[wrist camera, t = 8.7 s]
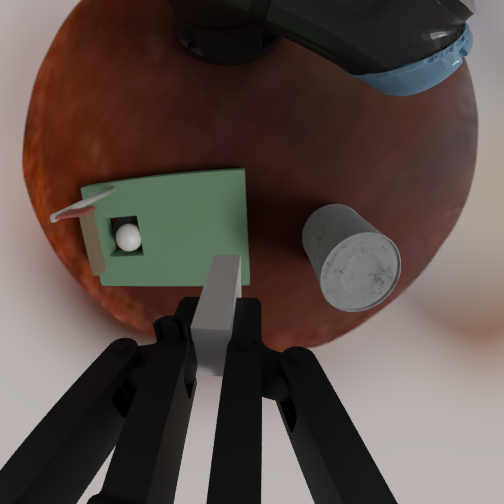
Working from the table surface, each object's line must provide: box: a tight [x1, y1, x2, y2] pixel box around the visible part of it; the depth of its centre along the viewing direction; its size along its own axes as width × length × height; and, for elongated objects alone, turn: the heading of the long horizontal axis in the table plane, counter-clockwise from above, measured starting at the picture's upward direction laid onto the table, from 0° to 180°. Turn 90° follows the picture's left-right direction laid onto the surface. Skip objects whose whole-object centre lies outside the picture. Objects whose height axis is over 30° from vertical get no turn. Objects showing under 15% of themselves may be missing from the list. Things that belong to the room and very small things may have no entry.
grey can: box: [302, 204, 401, 312], centre depth 33 cm, size 10×10×12 cm
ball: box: [116, 224, 141, 251], centre depth 37 cm, size 4×4×4 cm
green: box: [50, 168, 250, 286], centre depth 31 cm, size 16×24×16 cm, turn 92°
